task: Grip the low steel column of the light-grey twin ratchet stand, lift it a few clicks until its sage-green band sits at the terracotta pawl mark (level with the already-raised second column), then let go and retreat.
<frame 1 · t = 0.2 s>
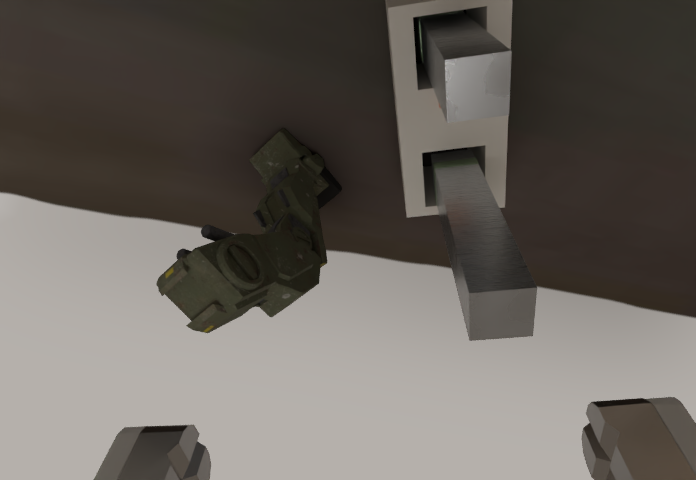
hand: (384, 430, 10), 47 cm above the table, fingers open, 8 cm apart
mechanical leg: (293, 166, 57), on the table
column 2: (452, 56, 39), point 11 cm above the table, slide at 0.0 cm
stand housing: (439, 89, 51), on the table
column 1: (470, 227, 39), point 19 cm above the table, slide at 8.0 cm
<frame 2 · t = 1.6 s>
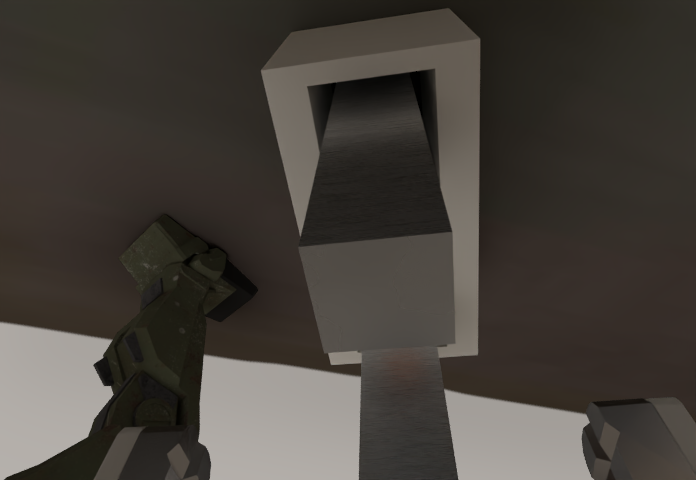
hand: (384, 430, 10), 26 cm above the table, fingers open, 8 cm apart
mechanical leg: (187, 261, 41), on the table
column 2: (378, 152, 22), point 11 cm above the table, slide at 0.0 cm
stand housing: (384, 165, 35), on the table
column 1: (407, 453, 22), point 19 cm above the table, slide at 8.0 cm
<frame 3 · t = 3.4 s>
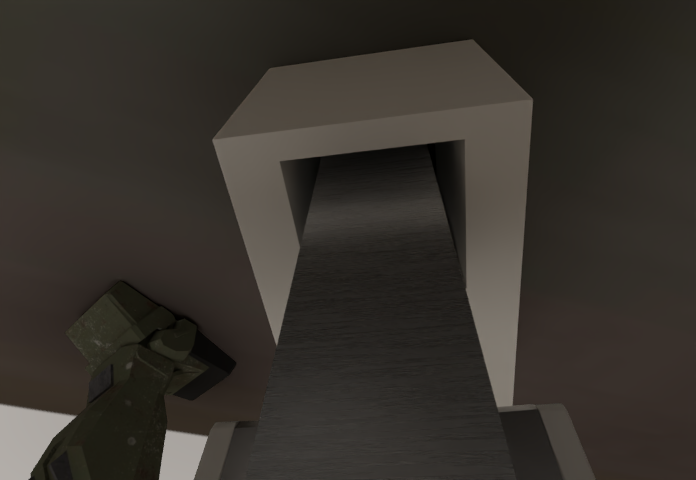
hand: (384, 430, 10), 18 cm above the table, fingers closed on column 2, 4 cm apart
mechanical leg: (151, 331, 34), on the table
column 2: (381, 254, 16), point 11 cm above the table, slide at 0.0 cm, touching gripper
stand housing: (388, 227, 28), on the table
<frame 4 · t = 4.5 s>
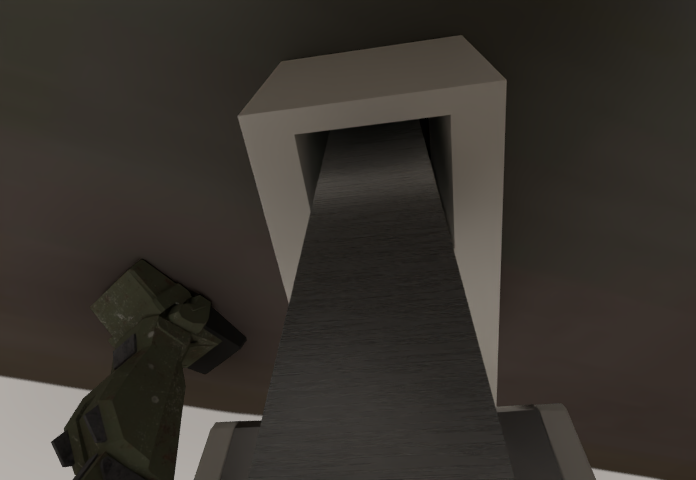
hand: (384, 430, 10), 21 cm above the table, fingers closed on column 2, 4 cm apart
mechanical leg: (168, 308, 37), on the table
column 2: (381, 255, 16), point 14 cm above the table, slide at 2.9 cm, touching gripper
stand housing: (387, 207, 31), on the table
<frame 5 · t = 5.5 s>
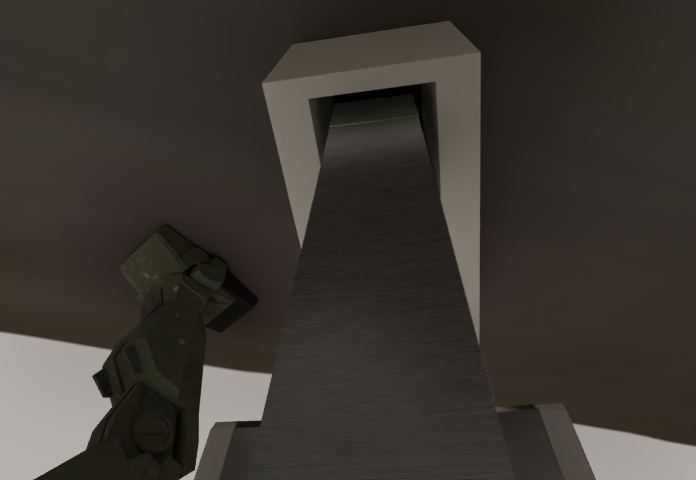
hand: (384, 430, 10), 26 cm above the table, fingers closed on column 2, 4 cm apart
mechanical leg: (188, 271, 41), on the table
column 2: (381, 254, 16), point 19 cm above the table, slide at 7.7 cm, touching gripper
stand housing: (385, 176, 35), on the table
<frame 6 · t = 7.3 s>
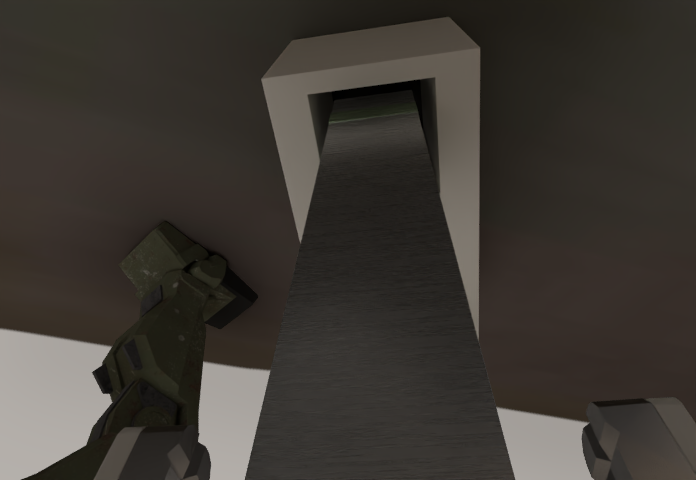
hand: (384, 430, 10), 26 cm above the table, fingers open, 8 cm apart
mechanical leg: (187, 268, 41), on the table
column 2: (380, 249, 16), point 19 cm above the table, slide at 7.7 cm
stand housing: (385, 172, 35), on the table
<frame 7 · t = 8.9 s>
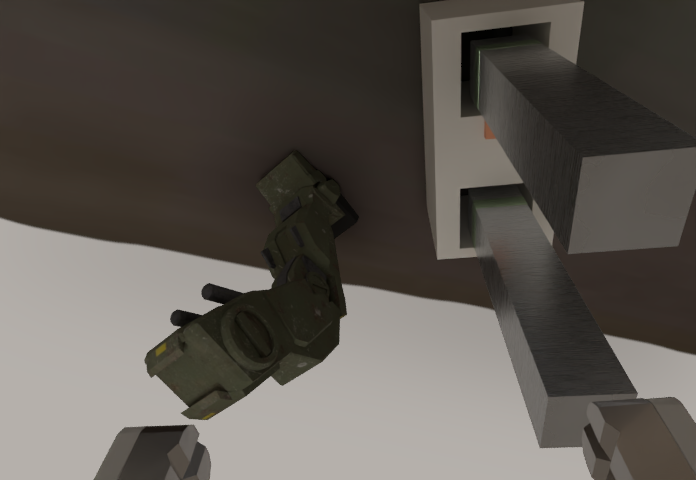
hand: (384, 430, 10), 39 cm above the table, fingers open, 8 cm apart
mechanical leg: (305, 191, 51), on the table
column 2: (540, 114, 26), point 19 cm above the table, slide at 7.7 cm
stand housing: (475, 111, 45), on the table
column 1: (524, 286, 32), point 19 cm above the table, slide at 8.0 cm
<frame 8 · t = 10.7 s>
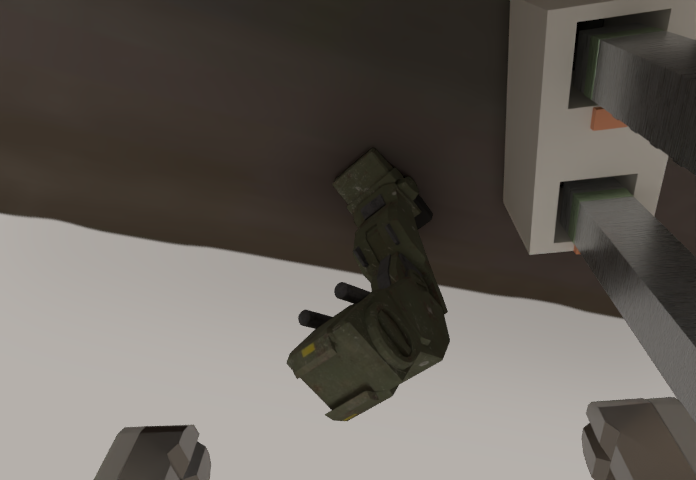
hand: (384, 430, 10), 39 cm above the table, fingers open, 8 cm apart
mechanical leg: (379, 189, 50), on the table
column 2: (687, 101, 26), point 19 cm above the table, slide at 7.7 cm
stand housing: (560, 104, 44), on the table
column 1: (647, 279, 32), point 19 cm above the table, slide at 8.0 cm
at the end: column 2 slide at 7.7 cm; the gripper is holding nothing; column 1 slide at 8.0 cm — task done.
